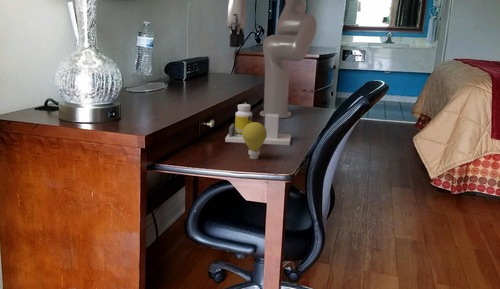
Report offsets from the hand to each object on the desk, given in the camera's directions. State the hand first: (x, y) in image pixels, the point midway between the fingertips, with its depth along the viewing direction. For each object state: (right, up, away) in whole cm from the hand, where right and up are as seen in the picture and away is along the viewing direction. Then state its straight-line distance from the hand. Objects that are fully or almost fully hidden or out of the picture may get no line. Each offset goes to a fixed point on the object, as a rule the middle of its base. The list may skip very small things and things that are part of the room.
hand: (237, 46), depth 158 cm
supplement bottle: (+2, -30, -9) cm, 32 cm away
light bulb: (+5, -37, -29) cm, 47 cm away
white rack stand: (+7, -32, -9) cm, 34 cm away
